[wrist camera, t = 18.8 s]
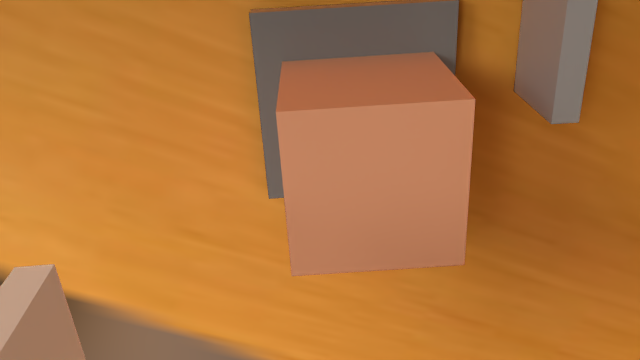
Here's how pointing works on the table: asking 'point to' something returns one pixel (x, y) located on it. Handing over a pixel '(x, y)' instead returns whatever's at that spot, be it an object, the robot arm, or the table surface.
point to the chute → (554, 56)
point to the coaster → (340, 47)
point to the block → (374, 162)
